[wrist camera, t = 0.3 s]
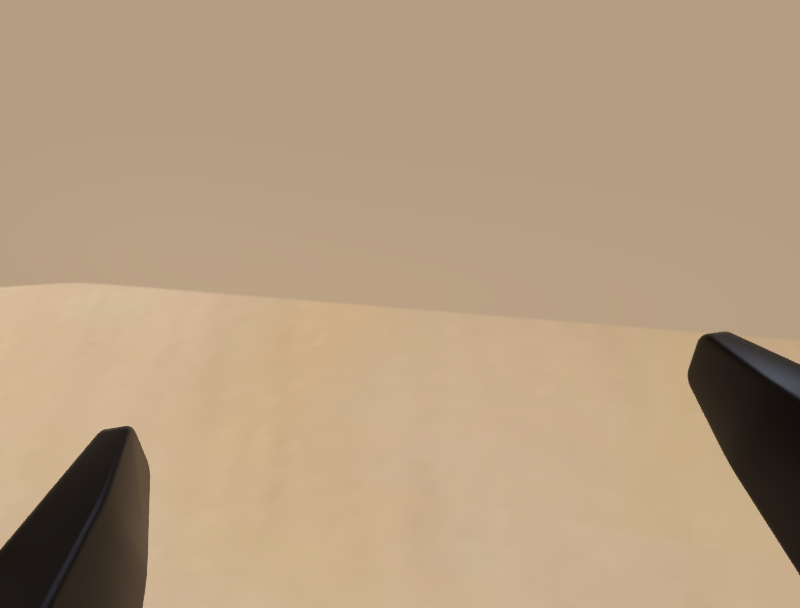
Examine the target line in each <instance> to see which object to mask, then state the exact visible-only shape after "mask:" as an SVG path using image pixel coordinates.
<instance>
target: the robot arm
mask: <svg viewBox="0 0 800 608" xmlns="http://www.w3.org/2000/svg"><path fill="white" fill-rule="evenodd" d="M688 381H689V384H690V387H691V389H692V391H693V393H694V395H695V397H696V399H697V401H698V403H699V405H700V407H701V409H702V411H703V413H704V415H705V417H706V419H707V421H708V423H709V425H710V427H711V429H712V431H713V433H714V435H715V437H716V439H717V441H718V443H719V445H720V447H721V449H722V451H723V453H724V455H725V456H726V458H727V460H728V462H729V464H730V466H731V467H732V469H733V471H734V472H735V474H736V476H737V477H738V479H739V480H740V482H741V483H742V485H743V487H744V488H745V490H746V491H747V493H748V494H749V496H750V498H751V499H752V501H753V502H754V504H755V505H756V507H757V509H758V510H759V512H760V513H761V515H762V516H763V518H764V520H765V521H766V523H767V524H768V526H769V527H770V529H771V531H772V532H773V534H774V535H775V537H776V538H777V540H778V542H779V543H780V545H781V546H782V548H783V549H784V551H785V553H786V554H787V556H788V557H789V559H790V560H791V562H792V564H793V565H794V567H795V568H796V570H797V571H798V573H799V575H800V364H798V363H795V362H793V361H791V360H789V359H787V358H785V357H782V356H780V355H778V354H776V353H774V352H771V351H769V350H767V349H765V348H763V347H760V346H758V345H756V344H754V343H752V342H750V341H747V340H745V339H743V338H741V337H739V336H736V335H734V334H732V333H729V332H718V333H711V334H705V335H703V336H702V337H701V338H700V339H699V340H698V343H697V346H696V349H695V351H694V354H693V357H692V360H691V363H690V366H689V369H688ZM149 494H150V471H149V465H148V462H147V459H146V456H145V454H144V452H143V449H142V447H141V444H140V442H139V440H138V437H137V435H136V433H135V431H134V429H133V428H132V427H130V426H123V427H117V428H111V429H105V430H102V431H101V432H100V433H98V434H97V435H96V437H95V438H94V439H93V440H92V441H91V442H90V444H89V445H88V446H87V447H86V448H85V450H84V451H83V452H82V453H81V454H80V456H79V457H78V458H77V459H76V460H75V462H74V463H73V464H72V465H71V466H70V467H69V469H68V470H67V471H66V472H65V473H64V475H63V476H62V477H61V478H60V479H59V481H58V482H57V483H56V484H55V485H54V487H53V488H52V489H51V490H50V491H49V492H48V494H47V495H46V496H45V497H44V498H43V500H42V501H41V502H40V503H39V504H38V506H37V507H36V508H35V509H34V510H33V512H32V513H31V514H30V515H29V516H28V517H27V519H26V520H25V521H24V522H23V523H22V525H21V526H20V527H19V528H18V529H17V531H16V532H15V533H14V534H13V535H12V537H11V538H10V539H9V540H8V541H7V542H6V544H5V545H4V546H3V547H2V548H1V550H0V608H142V607H143V600H144V594H145V586H146V577H147V560H148V527H149Z"/></svg>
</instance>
